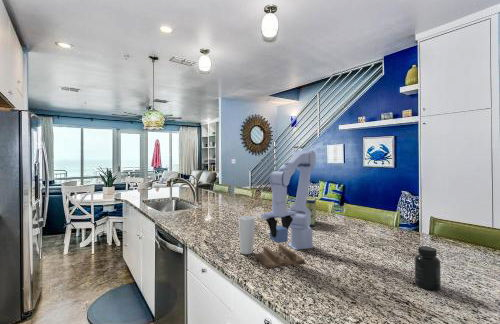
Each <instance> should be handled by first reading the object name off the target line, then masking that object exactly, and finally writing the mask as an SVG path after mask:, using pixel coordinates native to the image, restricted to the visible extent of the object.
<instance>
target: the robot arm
mask: <svg viewBox="0 0 500 324" xmlns="http://www.w3.org/2000/svg"><path fill="white" fill-rule="evenodd" d="M316 161H317V157H316V152H315V150H294V151H293V152H292V153H291V159H290V160H289V161H284V162H283V164H282V165H281V166H280V167H279V168H278V170H273V172H271V173H270V175H269V180H268V181H269V184H270V190H271V193H272V194H271V211H269V212H265V213H261V219H262V220H265V221H266V223H267V225H268V227H269V232H270V231H271V235H272V237H276V226H278V220H277V219H280V220H281V226H282V227H285V228H287V229H288V230H289V229H290V242H289V243H288V242H286V245H287V246H288V247H290V248H292V249H293V250H295V251H298V250H304V249H305V250H306V249H312V248H314V245H313V244H314V243H313V229H312V227H309V226H310V223H311V211H310V210H309V209H308V208H307V207H306V201H307V197H308V194H309V187H310V181H311V180H310V179H311V175H312V171H314V170H315V167H316ZM296 170H298V171H299V172H300V173H299V178H298V185H297V190H296V197H295V202H294V203H295V204H293V205H292V206H290V207H289V209H288V208H287V204H288V203H287V202H288V201H287V199H288V198H287V197H288V185H290V180H291V178H292V176H293V174H295V172H296ZM287 209H288V210H287ZM300 212H303V213H300Z"/></svg>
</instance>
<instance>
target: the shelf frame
mask: <svg viewBox="0 0 500 324" xmlns="http://www.w3.org/2000/svg"><path fill="white" fill-rule="evenodd" d="M262 248H263V252H261V253H254V257H255V258H256V259H257V261H258V262H259V263H261V264H262V266H263V267H265V268H266V269H268V268H275V267H281V266H287V265H289V266H291V265H297V264H302V263H303V264H305V262H306V260H305V259H304V258H303V257H301V256H300V255H299V254H297V253H296V252H294V251H293V250H291V249H289V248H287V247H286V246H284V245H283V244H278V250H277V251H276V250H275V251H273V250H272V249H270V247H268V246H263V247H262Z"/></svg>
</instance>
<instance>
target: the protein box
mask: <svg viewBox="0 0 500 324" xmlns="http://www.w3.org/2000/svg"><path fill="white" fill-rule="evenodd" d="M306 207H307V208H308V209H309V210H310V211H311V223H310V226H309V227H310V228H315V226H316V223H317V219H316V218H317V217H316V215H317V197H316V196H307V201H306ZM300 213H303V212H300Z"/></svg>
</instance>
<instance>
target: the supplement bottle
mask: <svg viewBox="0 0 500 324" xmlns="http://www.w3.org/2000/svg"><path fill="white" fill-rule="evenodd" d="M417 248H418V250H417V251H418V252H417V253H418V254H416V255H415V257H414V283H415V285H416V287H418V288H421V289H424V290H428V291H439V290H440V289H441V276H442V275H441V274H442V273H441V260H440V259H439V258H438V257H437V255H438V254H437V248H435V247H432V246H427V245H420V246H418V247H417Z"/></svg>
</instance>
